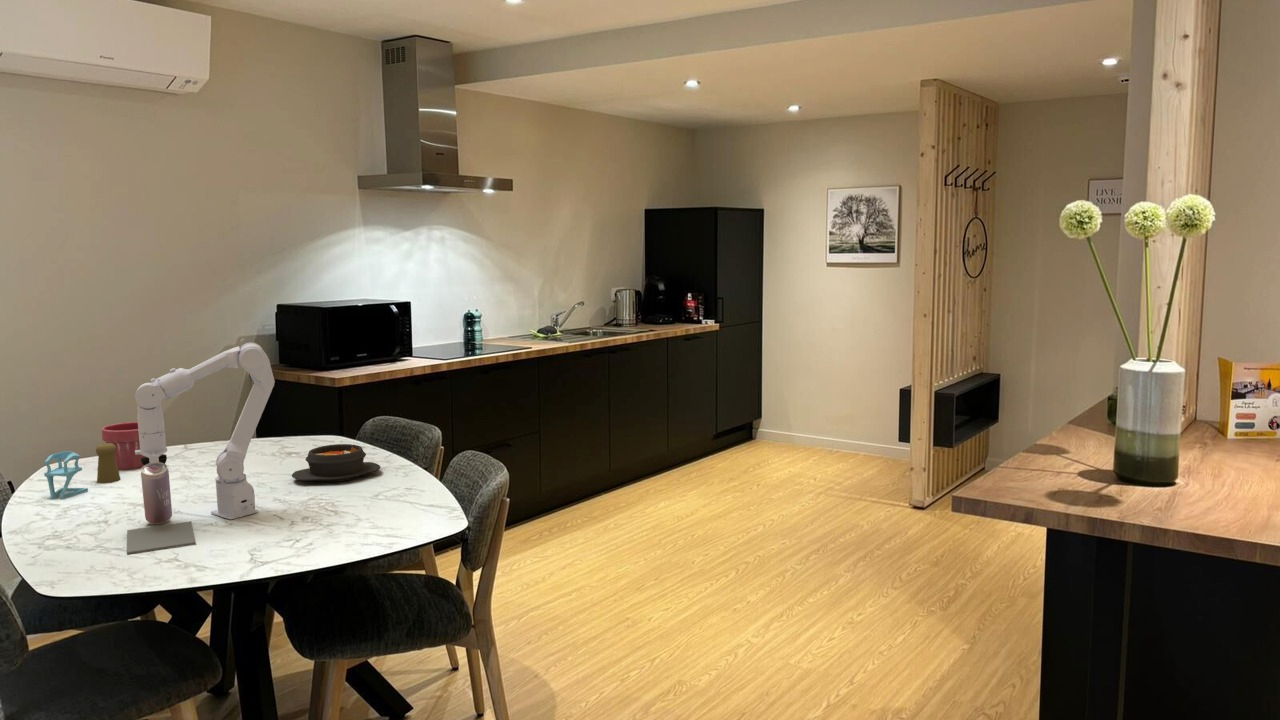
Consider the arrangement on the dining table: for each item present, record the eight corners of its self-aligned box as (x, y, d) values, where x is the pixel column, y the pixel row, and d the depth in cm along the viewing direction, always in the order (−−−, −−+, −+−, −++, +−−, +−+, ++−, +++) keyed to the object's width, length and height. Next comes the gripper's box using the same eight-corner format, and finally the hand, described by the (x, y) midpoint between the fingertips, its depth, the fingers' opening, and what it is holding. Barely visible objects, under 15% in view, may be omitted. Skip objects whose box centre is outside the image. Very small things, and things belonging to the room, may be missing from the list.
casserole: (372, 465, 287) (371, 438, 286) (387, 478, 271) (386, 450, 270) (287, 475, 275) (285, 448, 274) (297, 490, 259) (295, 461, 258)
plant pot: (166, 461, 294) (163, 421, 292) (138, 472, 280) (135, 431, 278) (124, 460, 295) (121, 420, 294) (94, 471, 282) (90, 430, 280)
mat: (127, 532, 224) (127, 530, 224) (191, 523, 231) (191, 521, 231) (126, 554, 208) (126, 552, 208) (195, 544, 215) (195, 542, 215)
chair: (42, 499, 253) (37, 456, 251) (61, 490, 261) (57, 449, 259) (69, 499, 252) (65, 456, 250) (88, 490, 260) (84, 449, 259)
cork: (91, 482, 269) (88, 445, 267) (108, 477, 275) (105, 441, 273) (109, 483, 268) (105, 446, 266) (125, 478, 273) (122, 442, 272)
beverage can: (162, 507, 235) (158, 458, 228) (177, 518, 233) (173, 468, 226) (140, 518, 230) (135, 468, 224) (155, 528, 228) (150, 478, 221)
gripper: (133, 428, 233) (138, 480, 235) (133, 439, 220) (137, 494, 222) (164, 425, 236) (169, 477, 238) (166, 436, 224) (170, 490, 226)
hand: (156, 485), depth 231 cm, fingers closed
